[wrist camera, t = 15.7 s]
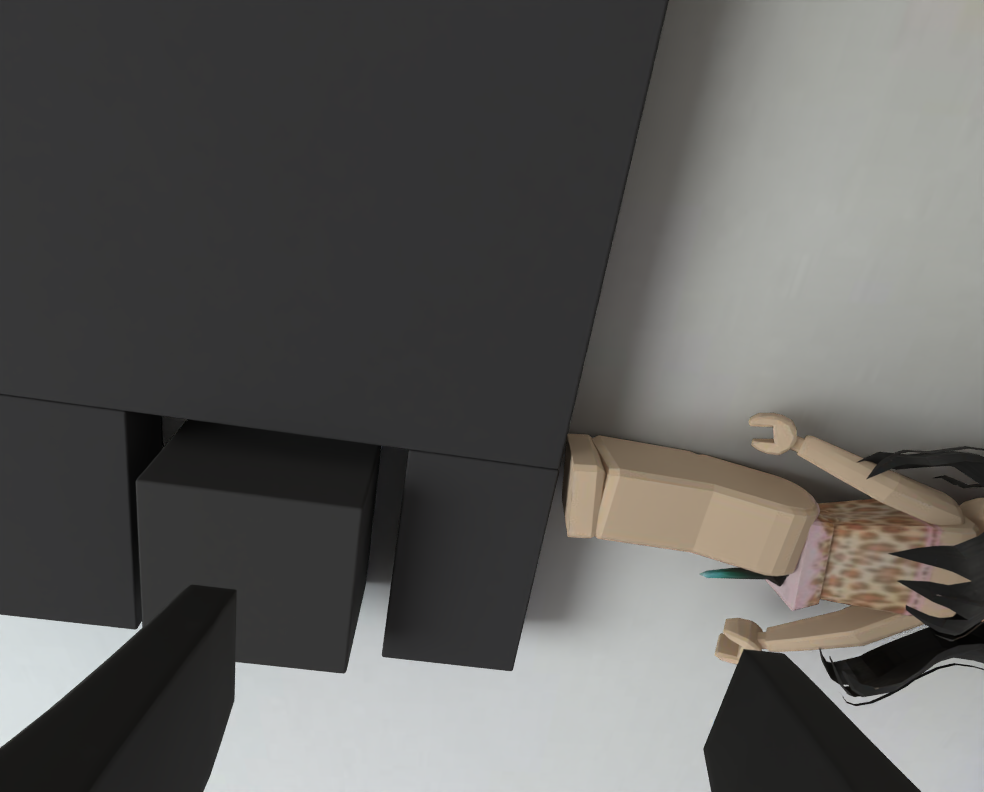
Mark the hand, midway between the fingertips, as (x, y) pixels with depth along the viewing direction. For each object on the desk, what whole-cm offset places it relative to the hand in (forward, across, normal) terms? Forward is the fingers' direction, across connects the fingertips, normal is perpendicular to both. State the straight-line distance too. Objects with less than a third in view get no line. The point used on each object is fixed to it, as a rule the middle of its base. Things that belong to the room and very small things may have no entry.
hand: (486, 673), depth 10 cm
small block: (+9, +5, +4) cm, 11 cm away
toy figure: (+10, -10, +2) cm, 14 cm away
